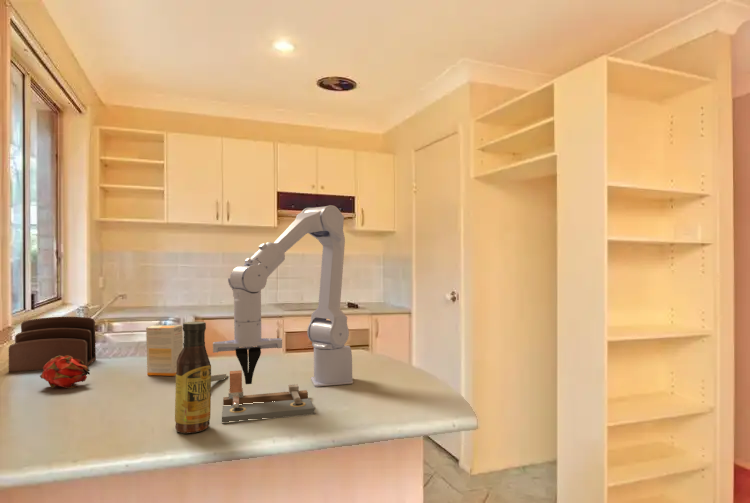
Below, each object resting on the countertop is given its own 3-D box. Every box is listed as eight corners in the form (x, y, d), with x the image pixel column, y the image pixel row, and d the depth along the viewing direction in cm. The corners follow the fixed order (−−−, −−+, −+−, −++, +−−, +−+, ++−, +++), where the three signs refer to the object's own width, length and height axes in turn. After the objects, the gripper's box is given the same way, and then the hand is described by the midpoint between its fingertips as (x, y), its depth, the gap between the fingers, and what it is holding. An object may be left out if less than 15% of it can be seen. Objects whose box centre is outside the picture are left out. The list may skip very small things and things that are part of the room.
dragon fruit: (44, 391, 125) (87, 399, 123) (23, 378, 118) (68, 387, 116) (62, 359, 130) (104, 367, 128) (44, 346, 123) (87, 354, 121)
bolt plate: (310, 403, 107) (309, 397, 107) (314, 414, 100) (314, 407, 100) (222, 411, 102) (222, 405, 102) (221, 423, 96) (221, 416, 96)
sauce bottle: (189, 437, 88) (188, 326, 88) (167, 431, 92) (166, 323, 92) (218, 426, 94) (217, 321, 94) (197, 420, 97) (196, 319, 97)
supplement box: (184, 372, 137) (183, 324, 137) (174, 376, 132) (173, 327, 132) (157, 371, 138) (156, 324, 138) (146, 375, 133) (145, 326, 133)
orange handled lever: (243, 394, 109) (242, 369, 109) (243, 408, 99) (243, 381, 99) (228, 396, 108) (228, 370, 108) (228, 410, 99) (227, 382, 99)
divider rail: (306, 396, 112) (306, 383, 112) (312, 409, 103) (312, 395, 103) (223, 404, 108) (223, 390, 108) (222, 418, 98) (222, 403, 98)
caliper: (188, 401, 111) (188, 373, 111) (184, 401, 111) (183, 373, 111) (228, 378, 131) (228, 354, 131) (224, 377, 131) (224, 354, 131)
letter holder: (22, 364, 149) (21, 317, 149) (96, 360, 154) (95, 314, 154) (8, 372, 139) (7, 322, 139) (87, 367, 145) (86, 319, 145)
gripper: (279, 316, 114) (280, 375, 114) (213, 319, 110) (213, 381, 110) (283, 320, 107) (283, 383, 107) (212, 324, 103) (213, 389, 103)
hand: (248, 383), depth 108 cm, fingers closed
